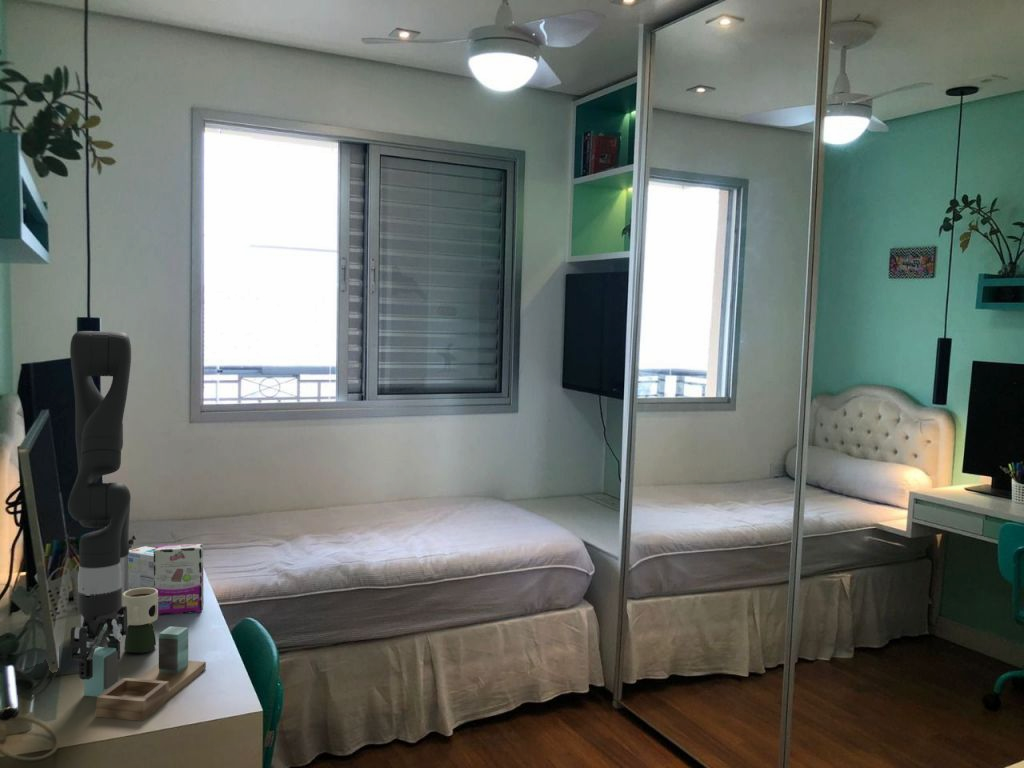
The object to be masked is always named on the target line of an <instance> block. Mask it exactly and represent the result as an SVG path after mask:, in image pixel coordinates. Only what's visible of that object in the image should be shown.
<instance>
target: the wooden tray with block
mask: <svg viewBox="0 0 1024 768" xmlns="http://www.w3.org/2000/svg"><path fill="white" fill-rule="evenodd" d="M205 668H207V662H206V661H200V660H199V661H197V660H196V661H195V660H189V627H184V626H183V627H182V626H171V625H170V626H168V627H167V628H165V629H163V630H162V631H161V632H159V633H158V663H157V664H156V665H154V666H153V667H152V668H150V669H149V670H147V671H146V672H145V673H143V674H142V675H140V676H138V678H131V677H130V678H129V677H123V678H121V679H120V681H119V680H118V682H116V684H115V685H113V686H112V687H111V688H109V689H108V690H106V691H105V692H103V693H102V694H101V695H99V696H98V697H96V708H95V717H96V718H105V719H106V718H107V719H117V720H129V721H130V720H131V721H140V722H141V721H142V722H143V721H144V720H146V718H148V717H149V716H150V715H152V714H153V713H154V712H155V711H157V710H158V709H159V708H160V707H161V706H162V705H164V704H165V703H167V701H168V700H170V699H171V698H172V697H174V695H176V694H178V693H179V692H180V691H181V690H182V689H183V688H184V687H186V686H187V685H188V684H189V683H191V682H192V681H193V680H194V679H196V676H197V677H198V676H199V675H201V672H202V671H203V670H204V669H205ZM205 670H206V669H205ZM205 670H204V671H205ZM204 671H203V672H204ZM203 672H202V673H203Z"/></svg>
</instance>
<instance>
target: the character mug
mask: <svg viewBox="0 0 1024 768" xmlns="http://www.w3.org/2000/svg"><path fill="white" fill-rule="evenodd" d="M122 606H126V607H127V623H128V625H129V626H128V633H127V635H125V638H124V639H125V640H124V648H123V649H124V650H123V651H125V652H127V653H137V654H141V653H148V652H151V651H152V650H155V649H156V646H157V644H156V643H157V642H156V633H155V628H154V625H153V622H156V621H157V620H158V618H159V615H158V590H157V589H155V588H136V589H131V590H128V591H125V592H124V593H123V596H122Z"/></svg>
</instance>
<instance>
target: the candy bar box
mask: <svg viewBox="0 0 1024 768" xmlns="http://www.w3.org/2000/svg"><path fill="white" fill-rule="evenodd" d="M155 548H156V549H155V550H154V588H155V589H157V590H158V616H166V615H180V614H181V613H183V614H193V613H195V612H197V613H201V612H203V608H204V603H205V601H204V599H205V598H204V597H205V596H204V543H189V544H188V543H187V544H185V543H184V544H169V545H168V544H167V545H156V547H155Z"/></svg>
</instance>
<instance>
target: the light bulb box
mask: <svg viewBox="0 0 1024 768" xmlns="http://www.w3.org/2000/svg"><path fill="white" fill-rule="evenodd" d="M155 549H156V547H152V546H151V547H150V546H147V545H145V546H141V547H137V548H134V549H129V589H136V588H154V550H155Z"/></svg>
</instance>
